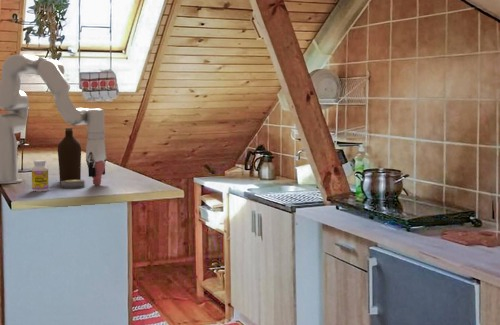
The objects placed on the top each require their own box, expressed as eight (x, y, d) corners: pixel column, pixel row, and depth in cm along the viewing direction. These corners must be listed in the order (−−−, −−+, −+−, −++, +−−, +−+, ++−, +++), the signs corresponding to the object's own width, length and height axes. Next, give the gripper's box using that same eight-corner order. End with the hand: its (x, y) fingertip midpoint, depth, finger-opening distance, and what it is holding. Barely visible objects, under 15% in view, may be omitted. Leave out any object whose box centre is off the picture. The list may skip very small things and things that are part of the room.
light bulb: (98, 183, 295) (98, 157, 294) (108, 185, 291) (108, 158, 289) (85, 185, 290) (85, 158, 288) (95, 187, 285) (95, 160, 284)
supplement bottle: (32, 192, 270) (31, 161, 268) (31, 190, 276) (30, 160, 274) (49, 191, 272) (48, 161, 271) (47, 189, 278) (46, 159, 277)
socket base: (56, 187, 282) (56, 181, 282) (69, 184, 292) (69, 178, 291) (77, 188, 279) (76, 182, 279) (88, 185, 289) (88, 179, 289)
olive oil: (70, 183, 295) (69, 128, 292) (53, 181, 300) (52, 128, 297) (86, 180, 305) (85, 127, 302) (69, 179, 309) (68, 127, 307)
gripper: (98, 135, 297) (99, 172, 299) (78, 137, 280) (79, 177, 282) (113, 135, 295) (113, 173, 297) (93, 138, 278) (94, 178, 280)
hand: (96, 175), depth 290 cm, fingers open, 7 cm apart
